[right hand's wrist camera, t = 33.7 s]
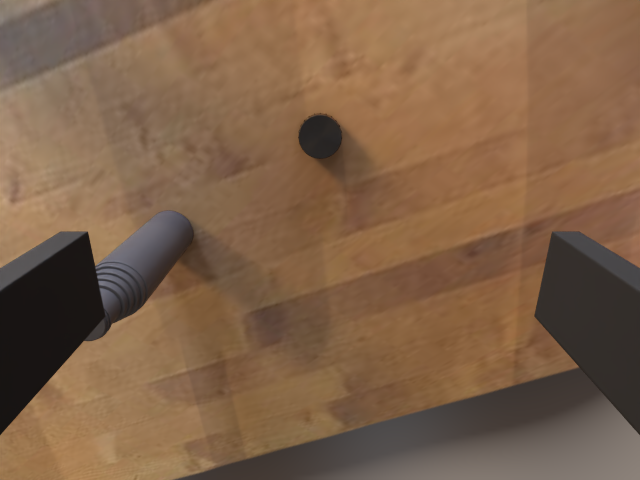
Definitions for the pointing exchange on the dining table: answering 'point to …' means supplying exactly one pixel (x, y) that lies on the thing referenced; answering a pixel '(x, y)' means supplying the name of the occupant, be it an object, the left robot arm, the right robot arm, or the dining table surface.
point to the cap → (320, 136)
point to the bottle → (140, 266)
